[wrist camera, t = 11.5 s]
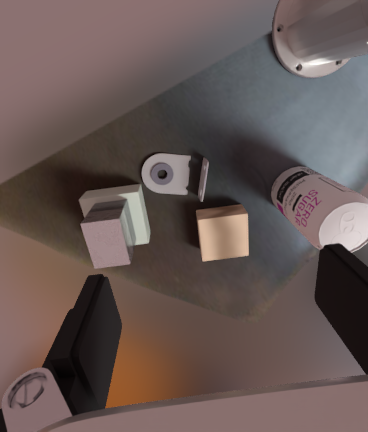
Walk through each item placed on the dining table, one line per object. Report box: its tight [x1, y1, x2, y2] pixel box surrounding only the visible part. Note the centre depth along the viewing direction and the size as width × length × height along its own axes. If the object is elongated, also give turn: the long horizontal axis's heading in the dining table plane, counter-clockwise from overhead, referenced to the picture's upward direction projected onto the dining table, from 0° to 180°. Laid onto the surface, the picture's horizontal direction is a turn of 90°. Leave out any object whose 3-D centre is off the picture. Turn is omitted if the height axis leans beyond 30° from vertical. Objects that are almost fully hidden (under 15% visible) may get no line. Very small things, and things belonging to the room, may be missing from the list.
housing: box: [80, 199, 136, 269], centre depth 38 cm, size 7×5×7 cm
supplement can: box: [271, 166, 368, 253], centre depth 38 cm, size 8×8×15 cm
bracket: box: [142, 153, 209, 202], centre depth 41 cm, size 7×10×4 cm, turn 83°
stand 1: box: [79, 184, 150, 245], centre depth 43 cm, size 9×9×4 cm
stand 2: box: [196, 204, 249, 261], centre depth 45 cm, size 8×8×4 cm
